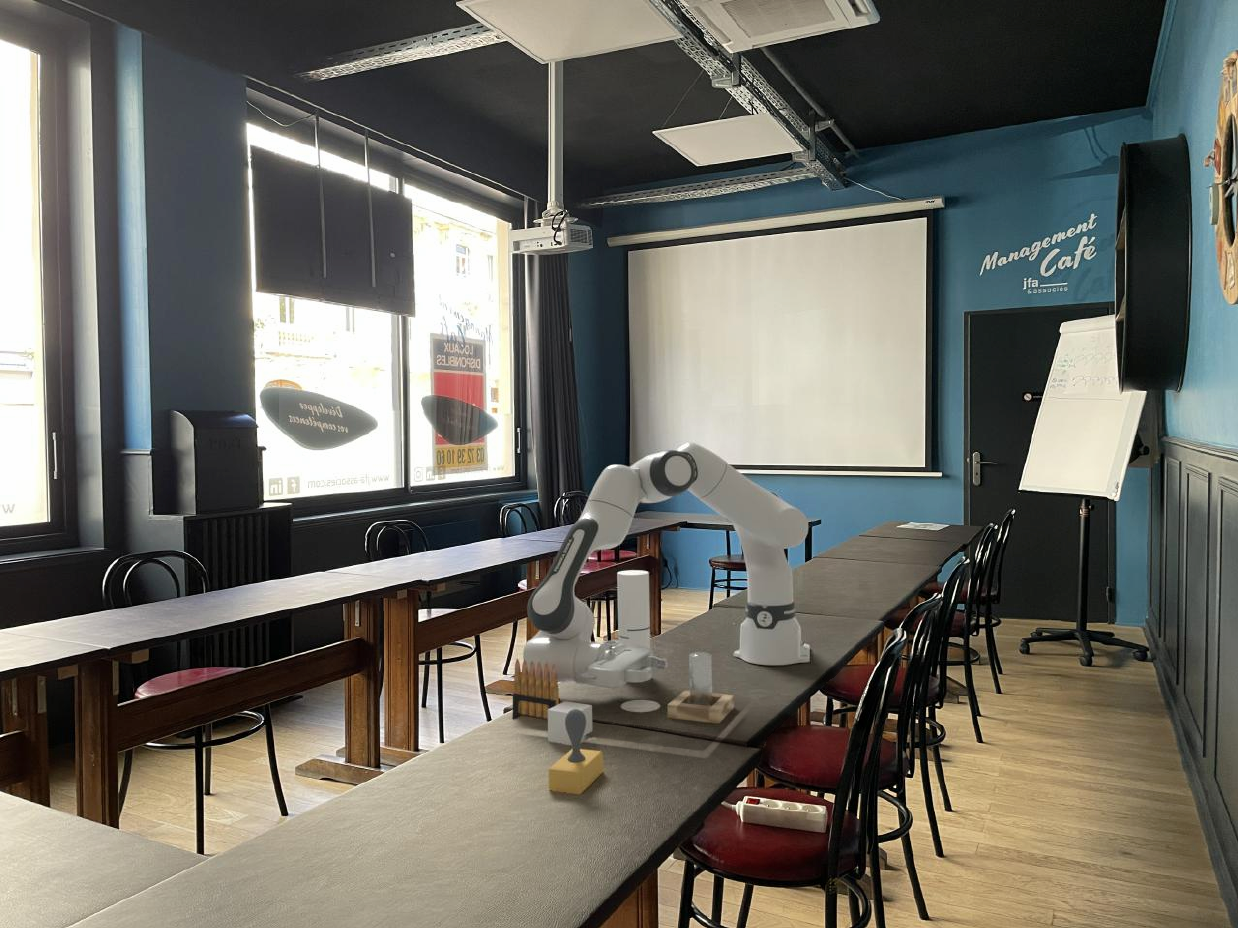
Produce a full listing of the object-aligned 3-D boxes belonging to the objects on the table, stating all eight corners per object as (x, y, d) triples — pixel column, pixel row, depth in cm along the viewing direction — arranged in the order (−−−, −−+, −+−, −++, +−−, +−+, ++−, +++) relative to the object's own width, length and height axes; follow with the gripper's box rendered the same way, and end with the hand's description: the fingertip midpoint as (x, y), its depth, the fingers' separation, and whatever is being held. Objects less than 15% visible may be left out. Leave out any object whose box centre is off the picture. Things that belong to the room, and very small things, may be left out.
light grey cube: (575, 746, 166) (574, 714, 165) (548, 741, 169) (547, 709, 168) (592, 736, 171) (591, 704, 171) (565, 731, 174) (565, 700, 174)
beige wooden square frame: (685, 707, 187) (684, 690, 187) (734, 712, 183) (733, 695, 183) (667, 722, 178) (667, 704, 178) (718, 728, 174) (718, 710, 174)
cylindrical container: (647, 687, 202) (645, 575, 201) (616, 685, 204) (614, 574, 203) (653, 678, 209) (651, 570, 208) (622, 677, 211) (620, 570, 210)
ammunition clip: (561, 723, 179) (560, 663, 178) (556, 726, 177) (554, 665, 176) (517, 715, 184) (516, 657, 183) (512, 718, 182) (510, 659, 182)
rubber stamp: (581, 795, 144) (579, 720, 143) (548, 790, 146) (546, 716, 145) (604, 772, 153) (602, 701, 152) (572, 768, 155) (570, 699, 154)
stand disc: (630, 702, 191) (630, 698, 191) (665, 706, 188) (665, 702, 188) (614, 714, 184) (614, 709, 184) (651, 718, 180) (651, 713, 180)
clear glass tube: (694, 710, 183) (693, 651, 183) (715, 712, 182) (714, 653, 181) (687, 716, 179) (686, 656, 179) (708, 719, 178) (707, 658, 177)
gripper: (573, 660, 179) (639, 666, 174) (615, 638, 198) (675, 643, 193) (574, 692, 179) (639, 699, 174) (615, 667, 198) (675, 672, 193)
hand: (658, 669), depth 183 cm, fingers open, 8 cm apart
